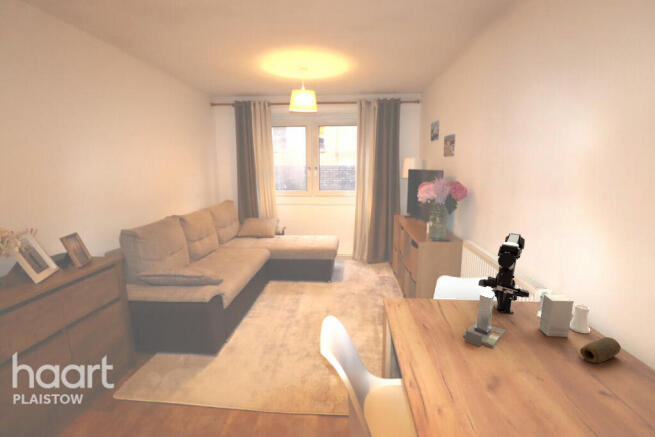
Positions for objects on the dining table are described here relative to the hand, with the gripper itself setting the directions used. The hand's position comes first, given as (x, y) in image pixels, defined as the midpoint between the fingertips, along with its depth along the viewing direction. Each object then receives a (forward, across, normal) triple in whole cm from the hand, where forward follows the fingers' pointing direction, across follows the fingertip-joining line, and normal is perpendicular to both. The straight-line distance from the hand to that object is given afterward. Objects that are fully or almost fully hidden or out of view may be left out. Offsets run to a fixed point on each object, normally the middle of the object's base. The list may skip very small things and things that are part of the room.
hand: (499, 308), depth 134 cm
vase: (-1, -34, -5) cm, 35 cm away
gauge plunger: (+11, +5, +5) cm, 13 cm away
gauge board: (+13, +7, +6) cm, 16 cm away
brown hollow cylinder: (+9, -29, +15) cm, 34 cm away
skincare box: (+4, -22, 0) cm, 22 cm away
